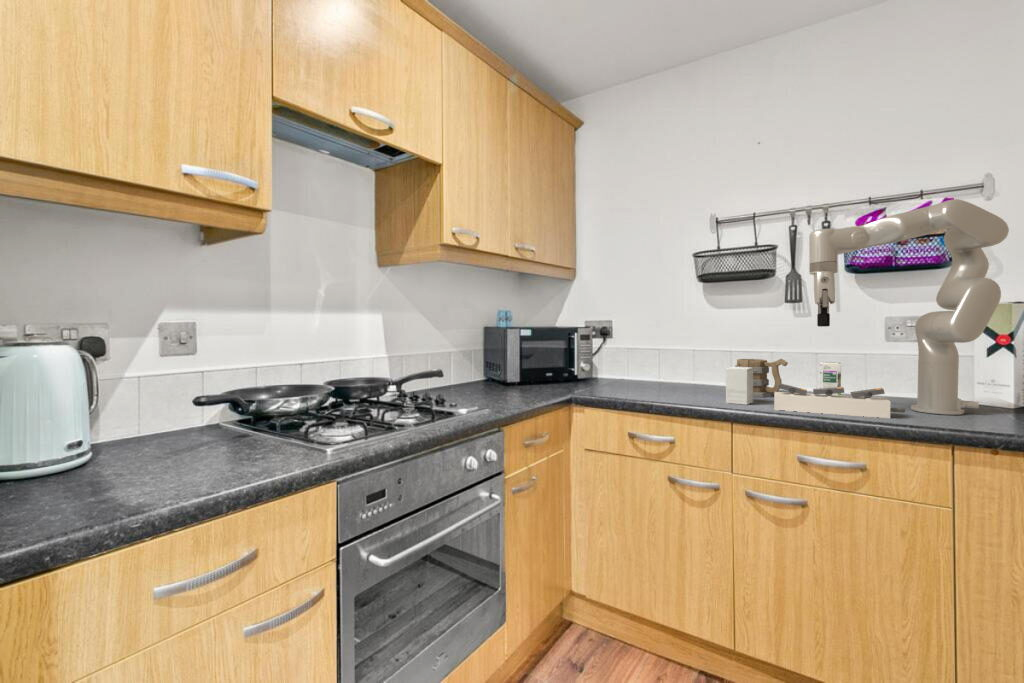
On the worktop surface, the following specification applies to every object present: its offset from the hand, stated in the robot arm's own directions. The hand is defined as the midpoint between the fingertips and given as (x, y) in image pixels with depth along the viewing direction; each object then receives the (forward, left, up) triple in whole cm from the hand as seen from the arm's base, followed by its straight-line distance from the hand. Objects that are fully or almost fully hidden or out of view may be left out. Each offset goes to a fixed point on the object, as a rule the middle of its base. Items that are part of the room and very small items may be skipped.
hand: (823, 326), depth 153 cm
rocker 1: (+8, +1, -21) cm, 23 cm away
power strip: (-4, +1, -27) cm, 27 cm away
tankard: (+18, -27, -28) cm, 42 cm away
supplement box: (+24, -6, -28) cm, 37 cm away
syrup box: (-4, -19, -28) cm, 33 cm away
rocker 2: (-2, +1, -21) cm, 21 cm away
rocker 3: (-12, +1, -21) cm, 24 cm away
